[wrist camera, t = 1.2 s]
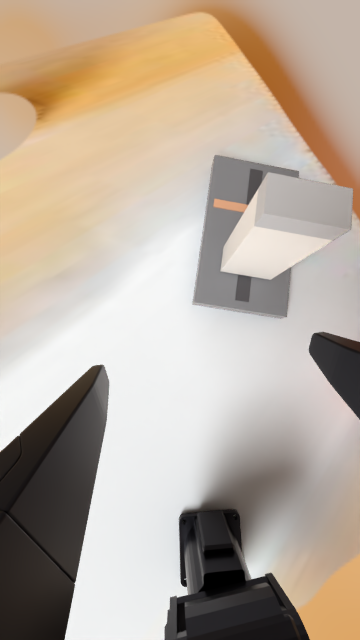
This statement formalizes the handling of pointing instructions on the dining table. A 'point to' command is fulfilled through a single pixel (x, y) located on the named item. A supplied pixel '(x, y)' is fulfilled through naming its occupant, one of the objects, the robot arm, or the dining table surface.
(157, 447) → the dining table surface
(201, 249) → the fader console
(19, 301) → the dining table surface
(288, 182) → the fader handle
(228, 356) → the dining table surface
